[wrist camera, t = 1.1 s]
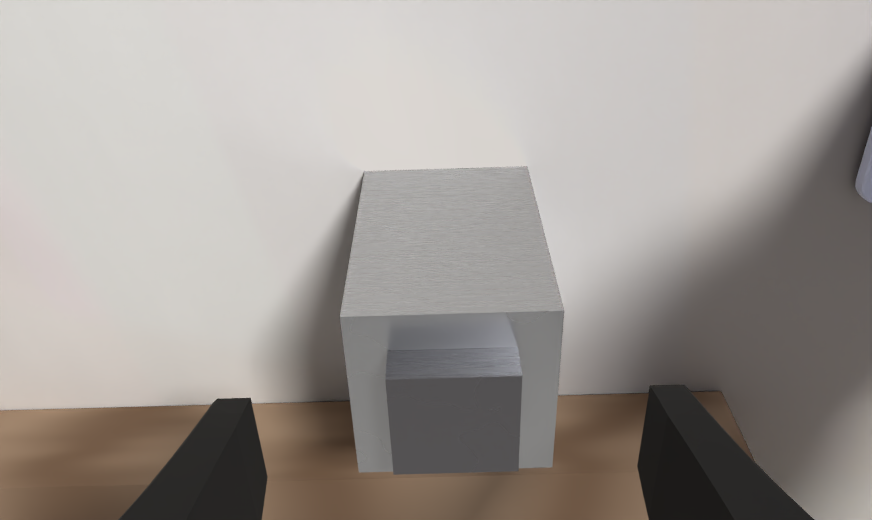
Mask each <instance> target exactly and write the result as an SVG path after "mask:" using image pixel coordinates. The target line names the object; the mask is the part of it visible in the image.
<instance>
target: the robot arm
mask: <svg viewBox="0 0 872 520" xmlns="http://www.w3.org/2000/svg"><path fill="white" fill-rule="evenodd" d="M855 188H856V190H857V192H858V194H859V195H860V196H861V197H862V198H864V199H865V200H866V201H868V202H869V203H872V127H871V131H870V134H869V137H868V141H867V144H866V147H865V151H864V154H863V158H862V161H861V164H860V168H859V171H858V174H857V178H856V184H855ZM637 468H638V472H639V477H640V482H641V487H642V492H643V496H644V501H645V505H646V509H647V514H648V518H649V520H814V519H813V518H812V517H811V516H810V515H809V514H808V513H806V512H805V511H804V510H803V509H802V508H801V507H800V506H799V505H798V504H797V503H796V502H795V501H794V500H793V499H791V498H790V497H789V496H788V495H787V494H786V493H785V492H784V491H783V490H782V489H781V488H780V487H779V486H778V485H777V484H776V483H775V482H774V481H773V480H772V479H771V478H770V477H769V476H768V475H767V474H766V473H765V472H764V471H763V470H762V469H761V468H760V467H759V466H758V465H757V464H756V463H755V462H754V461H753V460H752V459H751V458H750V457H749V456H748V455H747V454H746V453H745V451H744V450H743V449H742V448H741V447H740V446H739V445H738V444H737V443H736V442H735V441H734V440H733V439H732V437H731V436H730V435H729V434H728V433H727V432H726V431H725V430H724V429H723V428H722V426H721V425H720V424H719V423H718V422H717V421H716V420H715V419H714V417H713V416H712V415H711V414H710V413H709V412H708V411H707V410H706V408H705V407H704V406H703V405H702V404H701V403H700V402H699V400H698V399H697V398H696V397H695V396H694V395H693V394H692V393H691V391H690V390H689V389H688V388H687V387H686V386H685V385H662V386H650V389H649V395H648V401H647V408H646V414H645V420H644V426H643V433H642V439H641V445H640V451H639V458H638V464H637ZM267 478H268V476H267V472H266V467H265V462H264V458H263V453H262V448H261V444H260V439H259V435H258V430H257V425H256V421H255V416H254V411H253V407H252V402H251V398H232V399H217V400H216V401H215V402H214V403H212V405H211V406H210V407H209V409H208V410H207V411H206V413H205V414H204V415H203V417H202V418H201V419H200V421H199V422H198V423H197V425H196V426H195V427H194V429H193V430H192V431H191V433H190V434H189V435H188V437H187V438H186V439H185V440H184V442H183V443H182V444H181V446H180V447H179V448H178V449H177V451H176V452H175V453H174V455H173V456H172V457H171V458H170V460H169V461H168V462H167V463H166V465H165V466H164V467H163V468H162V469H161V471H160V472H159V473H158V474H157V476H156V477H155V478H154V479H153V480H152V482H151V483H150V484H149V485H148V486H147V488H146V489H145V490H144V491H143V492H142V494H141V495H140V496H139V497H138V498H137V499H136V500H135V502H134V503H133V504H132V505H131V506H130V507H129V508H128V509H127V510H126V511H125V513H124V514H123V515H122V516H121V517H120V518H119V519H118V520H262V514H263V507H264V500H265V493H266V485H267Z"/></svg>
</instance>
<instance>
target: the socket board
mask: <svg viewBox="0 0 872 520" xmlns="http://www.w3.org/2000/svg"><path fill="white" fill-rule="evenodd" d="M691 393H692V394H693V395H694V396H695V397H696V398H697V399H698V400H699V402H700V403H701V404H702V405H703V406H704V407H705V408H706V410H707V411H708V412H709V413H710V414H711V415H712V416H713V417H714V419H715V420H716V421H717V422H718V423H719V424H720V425H721V426H722V428H723V429H724V430H725V431H726V432H727V433H728V434H729V435H730V436H731V437H732V439H733V440H734V441H735V442H736V443H737V444H738V445H739V446H740V447H741V448H742V449H743V450H744V451H745V453H746V454H747V455H748V456H749V457H750V458H751V459H752V460H753V461H754V459H753V457H752V455H751V453H750V451H749V449H748V446H747V444H746V442H745V440H744V438H743V436H742V434H741V432H740V430H739V428H738V426H737V424H736V421H735V419H734V417H733V415H732V413H731V411H730V409H729V407H728V405H727V403H726V401H725V398H724V396H723V394H722V392H721V391H712V392H691ZM648 395H649V393H638V394H601V395H564V396H558V399H557V412H556V425H555V439H554V452H553V465H552V467H550V468H519V471H515V472H477V473H438V474H400V475H393V472H360V473H359V470H358V462H357V454H356V446H355V438H354V429H353V421H352V413H351V405H350V401H341V402H304V403H267V404H252V407H253V411H254V416H255V421H256V425H257V430H258V435H259V439H260V444H261V448H262V453H263V458H264V462H265V467H266V472H267V476H268V478H267V485H266V493H265V500H264V507H263V514H262V520H649V518H648V514H647V509H646V505H645V501H644V496H643V492H642V487H641V482H640V477H639V472H638V468H637V464H638V458H639V451H640V445H641V439H642V433H643V426H644V420H645V414H646V408H647V401H648ZM210 406H211V405H192V406H155V407H118V408H81V409H44V410H7V411H0V520H118V519H119V518H120V517H121V516H122V515H123V514H124V513H125V511H126V510H127V509H128V508H129V507H130V506H131V505H132V504H133V503H134V502H135V500H136V499H137V498H138V497H139V496H140V495H141V494H142V492H143V491H144V490H145V489H146V488H147V486H148V485H149V484H150V483H151V482H152V480H153V479H154V478H155V477H156V476H157V474H158V473H159V472H160V471H161V469H162V468H163V467H164V466H165V465H166V463H167V462H168V461H169V460H170V458H171V457H172V456H173V455H174V453H175V452H176V451H177V449H178V448H179V447H180V446H181V444H182V443H183V442H184V440H185V439H186V438H187V437H188V435H189V434H190V433H191V431H192V430H193V429H194V427H195V426H196V425H197V423H198V422H199V421H200V419H201V418H202V417H203V415H204V414H205V413H206V411H207V410H208V409H209V407H210ZM754 462H755V461H754Z"/></svg>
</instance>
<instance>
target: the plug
mask: <svg viewBox="0 0 872 520" xmlns="http://www.w3.org/2000/svg"><path fill="white" fill-rule="evenodd" d="M563 319H564V308H563V304H562V300H561V296H560V292H559V289H558V285H557V281H556V277H555V273H554V269H553V265H552V261H551V257H550V253H549V249H548V245H547V242H546V238H545V234H544V230H543V226H542V222H541V218H540V214H539V210H538V206H537V202H536V198H535V195H534V191H533V187H532V183H531V179H530V175H529V171H528V167H527V166H523V167H490V168H456V169H423V170H390V171H364V177H363V183H362V189H361V194H360V200H359V206H358V212H357V218H356V224H355V230H354V236H353V242H352V248H351V253H350V259H349V265H348V271H347V277H346V283H345V289H344V295H343V301H342V307H341V313H340V323H341V331H342V339H343V348H344V356H345V364H346V372H347V380H348V388H349V397H350V405H351V413H352V421H353V429H354V438H355V446H356V454H357V462H358V470H359V473H360V472H393V475H400V474H438V473H477V472H515V471H519V468H550V467H552V465H553V452H554V439H555V425H556V412H557V399H558V385H559V372H560V359H561V345H562V332H563Z"/></svg>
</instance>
